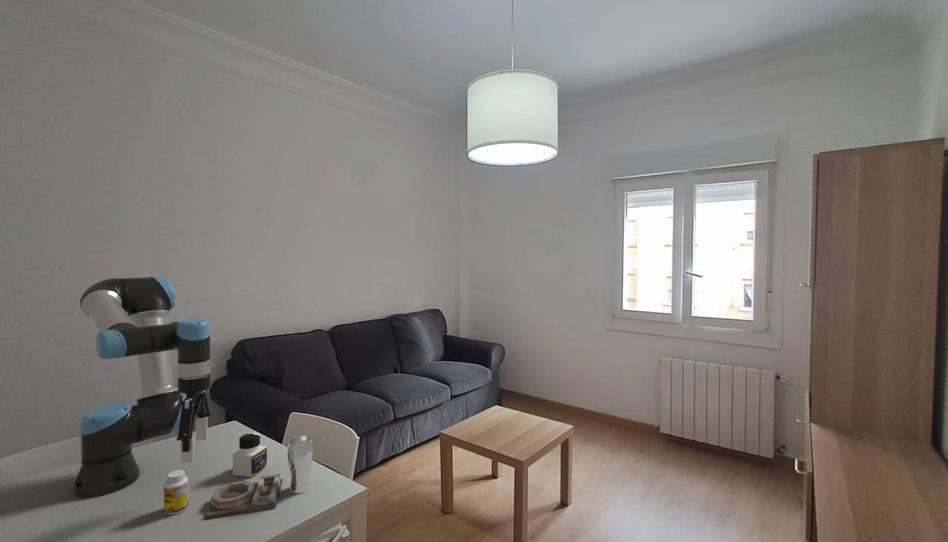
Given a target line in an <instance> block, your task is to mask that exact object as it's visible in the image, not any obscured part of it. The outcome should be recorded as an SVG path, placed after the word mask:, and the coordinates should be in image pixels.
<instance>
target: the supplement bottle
mask: <svg viewBox="0 0 948 542" xmlns="http://www.w3.org/2000/svg"><path fill="white" fill-rule="evenodd" d="M166 476H167V477H166V481H165V482H164V484H163V510H164V511H163V512H164V513H165V514H166V515H168V516H169V515H171V516H172V515H176V514H179V513H181V512H184V511H185V510H186V509H187V508H188V507H189V504H190V502H189V500H190V499H189V498H190V497H189V496H190V495H189V477H188V476H187V475H186V473H185V470H183V469H179V470H178V469H177V470H173V471H170V472H169V473H167V475H166Z"/></svg>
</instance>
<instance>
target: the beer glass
mask: <svg viewBox="0 0 948 542" xmlns="http://www.w3.org/2000/svg"><path fill="white" fill-rule="evenodd" d="M287 443H288V444H287V464H288V469H289V475H290V486H289V493H291V494H295V495H299V494H303V493H306V492H308V491H309V490H310V489H311V488H312V482H311V476H310V473H311V468H312V462H313V438H312V436H310V435H309V434H308V435H307V434H300V435H297V436H296V435H295V436H293V437H290V438H289V440H288V442H287Z"/></svg>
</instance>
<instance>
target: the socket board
mask: <svg viewBox="0 0 948 542" xmlns="http://www.w3.org/2000/svg"><path fill="white" fill-rule="evenodd" d="M283 480H284V479H283V478H281V474H280V473H279V474H278V473H277V474H271V475H265V476H264V475H263V476H260V477H259V481H258V482H250V481H247V480H240V481H234V482H229V483H227V484H225V485H222V486H221V487H218V488H216V489H215V491H214V492H213V494H212V496H211V501H210V503H211V505H210V506H209V509H208V510H207V512H206V515H205V519H206V520H208V519H215V518H220V517H228V516H232V515H233V516H234V515H240V514H247V513H252V512H259V511H265V510H272V509H276V508H277V504H278V500H279V497H280V492H281V490H282V487H283V483H282V482H284V481H283Z"/></svg>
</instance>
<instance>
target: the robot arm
mask: <svg viewBox="0 0 948 542" xmlns="http://www.w3.org/2000/svg"><path fill="white" fill-rule="evenodd" d="M175 295H176V294H175V291H174V287H173V285H172V284H171V282H170V281H169V279H167V278H165V277H155V276H147V277H146V276H145V277H121V278H119V277H116V278H115V277H114V278H107V279H103V280H100V281H98V282H96V283H94V284H92V285H90V286H89V287H87V289H85V290H84V291H83V293H82V294H81V296H80V299H79V306H80V309H81V311H82V312H83V314H85V316H87V317H88V318H91V319H92V321H93V323H94V324H95V326H96V328H97V330H98V331H99V332H98V333H97V335H96V338H95V339H96V351H97V356H98V357H99V359H102V360H109V359H110V360H111V359H121V358H126V357H132V356H133V357H134V356H137V360H138V368H139V379H140V387H141V393H140V395H139V396H138V397H137V398H136V404H134V405H132V404H131V403H130V402H128V401H121V402H113V403H110V404H106V405H103V406H100V407H97V408H95V409H92V410H91V411H90V412H88V413H86V414H85V415H84V416H83V417H82V418H81V420H80V429H79V436H80V454H81V456H80V458H81V461H80V463H81V465H80V468H79V470H78V473H77V475H76V478H75V481H74V484H73V494H74V496H76V497H81V498H93V497H99V496H100V497H101V496H104V495H108V494H111V493H114V492H117V491H120V490H123V489H124V488H127V487H128V486H130V485H132V484H133V483H135V482H136V481H137V480H138V479H139V477H140V466H139V464H138V463H137V460H136V458H135V457H134V454H133V449H132V448H133V447H132V446H133V445H134V444H137V443H141V442H145V441H149V440H152V439H156V438H159V437H163V436H169V435H171V434H174V433H176V432H177V433H178V434H177V437H176V441H177V442H179V441H180V464H188V463H193V462H194V459H195V457H194V456H195V443H194V442H195V441H196V442H198V441H207V440H208V417H210V416H211V412H210V406H209V399H208V394H207V390H208V389H209V388H210V387H211V375H210V373H211V367H212V366H213V362H211V334H212V332H211V325H210V321H209V320H208V319H204V318H203V319H202V318H189V319H184V320H179V321H172V322H170V323H167V317H168V316H169V315H170V314H171V310H173V309H174V308H175V305H176V296H175ZM176 350H177V351H176ZM170 351H176V352H177V377H178V379H177V387H176V386H174V376H173V370H172V360H171V352H170ZM194 428H195V439H194V436H193V433H194ZM194 440H195V441H194Z"/></svg>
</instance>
